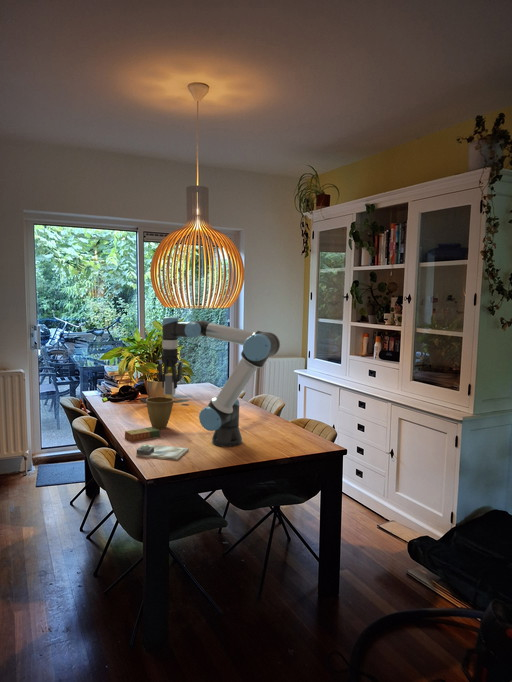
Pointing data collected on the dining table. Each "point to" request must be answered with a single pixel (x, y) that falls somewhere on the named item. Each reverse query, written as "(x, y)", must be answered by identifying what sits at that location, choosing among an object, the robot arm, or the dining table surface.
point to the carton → (142, 434)
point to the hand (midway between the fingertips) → (169, 394)
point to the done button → (145, 447)
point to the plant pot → (159, 411)
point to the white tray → (162, 452)
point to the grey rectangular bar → (168, 385)
